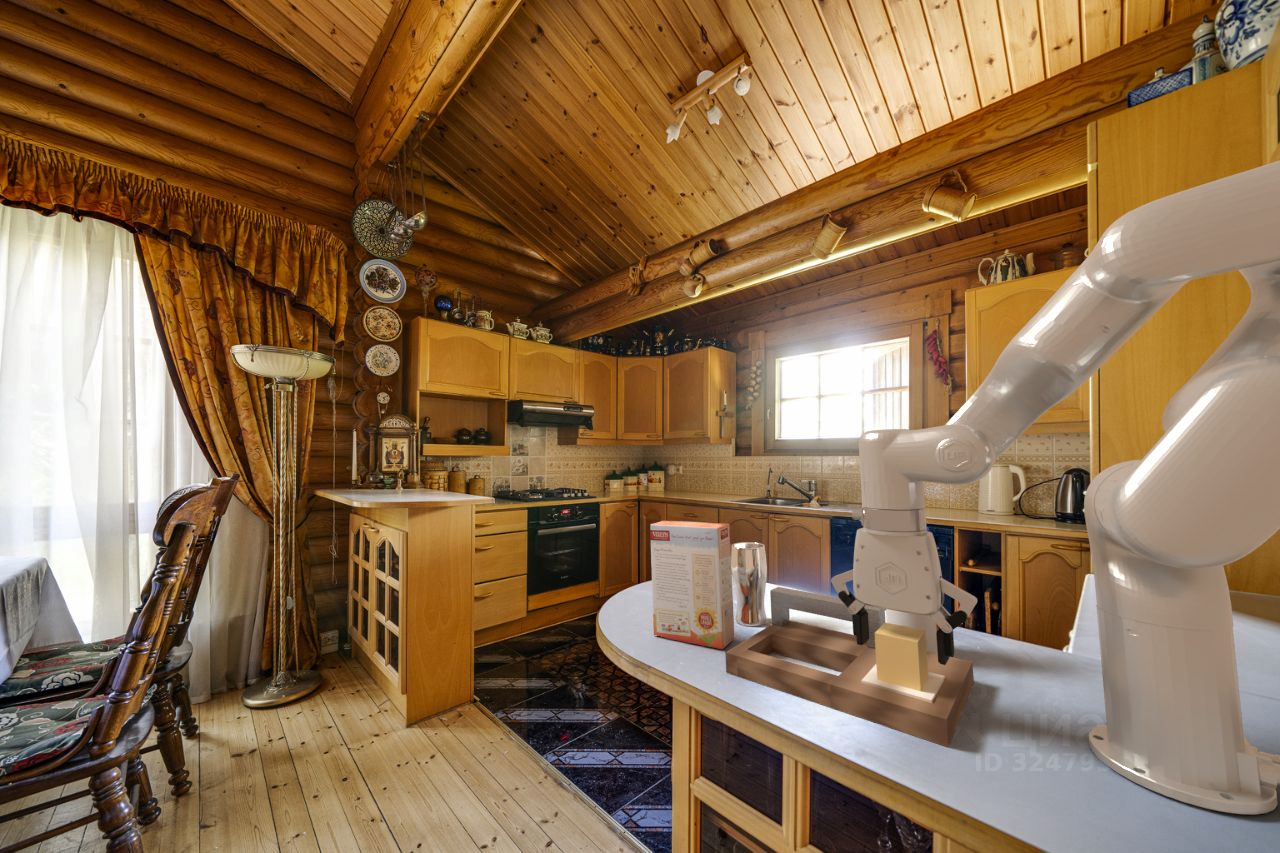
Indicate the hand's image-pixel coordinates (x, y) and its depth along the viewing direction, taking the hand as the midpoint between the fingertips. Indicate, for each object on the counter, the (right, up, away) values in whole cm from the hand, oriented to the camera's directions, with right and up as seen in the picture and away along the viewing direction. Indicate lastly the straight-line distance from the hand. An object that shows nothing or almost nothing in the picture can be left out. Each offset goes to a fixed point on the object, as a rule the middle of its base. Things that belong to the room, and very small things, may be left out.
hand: (901, 650), depth 62 cm
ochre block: (0, -4, 0) cm, 4 cm away
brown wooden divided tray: (-4, -7, +7) cm, 11 cm away
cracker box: (-25, -9, +24) cm, 36 cm away
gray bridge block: (-4, -5, +16) cm, 17 cm away
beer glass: (-13, -9, +32) cm, 35 cm away
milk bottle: (+11, -8, +16) cm, 20 cm away
